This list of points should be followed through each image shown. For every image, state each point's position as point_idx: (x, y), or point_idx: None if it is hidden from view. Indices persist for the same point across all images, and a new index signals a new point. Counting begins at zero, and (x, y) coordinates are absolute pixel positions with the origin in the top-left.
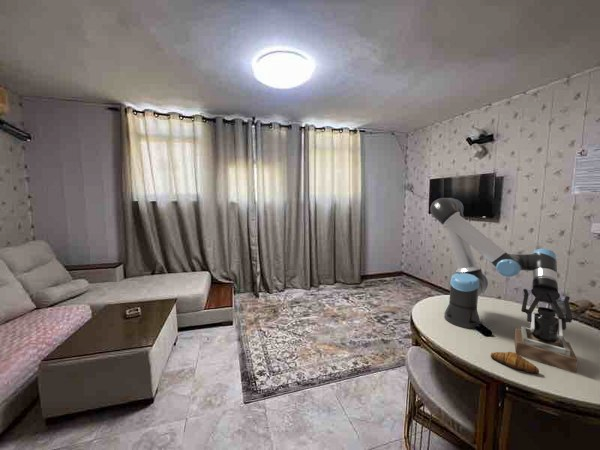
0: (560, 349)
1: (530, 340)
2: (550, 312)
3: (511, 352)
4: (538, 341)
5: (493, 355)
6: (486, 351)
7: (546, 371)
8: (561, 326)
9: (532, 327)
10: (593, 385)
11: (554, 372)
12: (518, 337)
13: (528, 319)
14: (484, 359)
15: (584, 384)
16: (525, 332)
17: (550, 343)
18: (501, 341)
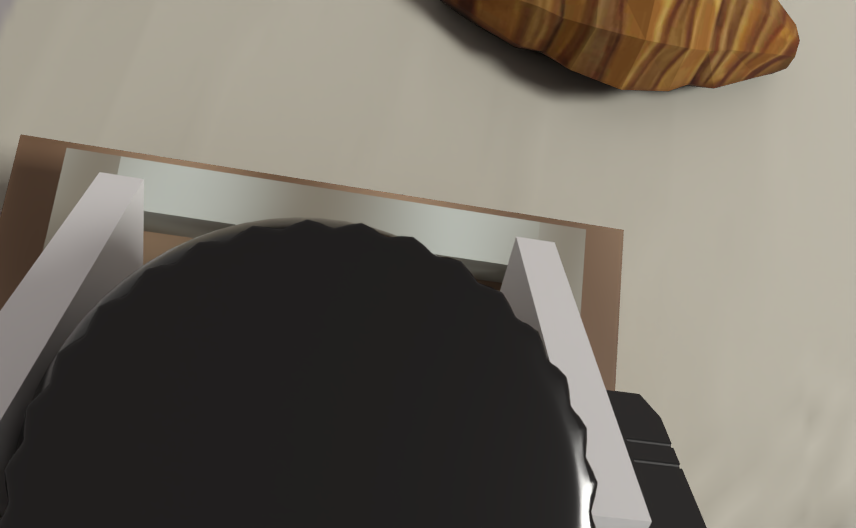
0: (176, 170)
1: (508, 220)
2: (259, 231)
3: (670, 33)
4: None
5: (782, 12)
6: (806, 165)
7: (351, 72)
8: (25, 291)
9: (547, 251)
10: (5, 34)
11: (283, 92)
12: None
13: (640, 404)
14: (814, 5)
15: (84, 11)
16: None
17: None
18: None
